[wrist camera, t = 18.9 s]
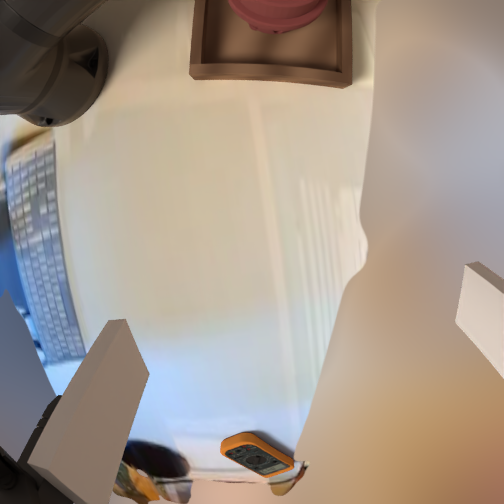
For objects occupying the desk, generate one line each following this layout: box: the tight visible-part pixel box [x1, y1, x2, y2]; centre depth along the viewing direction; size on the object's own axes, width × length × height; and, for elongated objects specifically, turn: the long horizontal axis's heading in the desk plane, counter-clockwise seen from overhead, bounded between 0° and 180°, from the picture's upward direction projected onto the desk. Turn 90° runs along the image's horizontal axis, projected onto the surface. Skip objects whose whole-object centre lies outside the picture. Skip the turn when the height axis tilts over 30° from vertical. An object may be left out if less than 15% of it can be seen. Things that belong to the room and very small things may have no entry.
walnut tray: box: [189, 0, 352, 89], centre depth 27 cm, size 18×18×4 cm
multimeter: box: [220, 432, 294, 478], centre depth 56 cm, size 9×18×3 cm, turn 37°
